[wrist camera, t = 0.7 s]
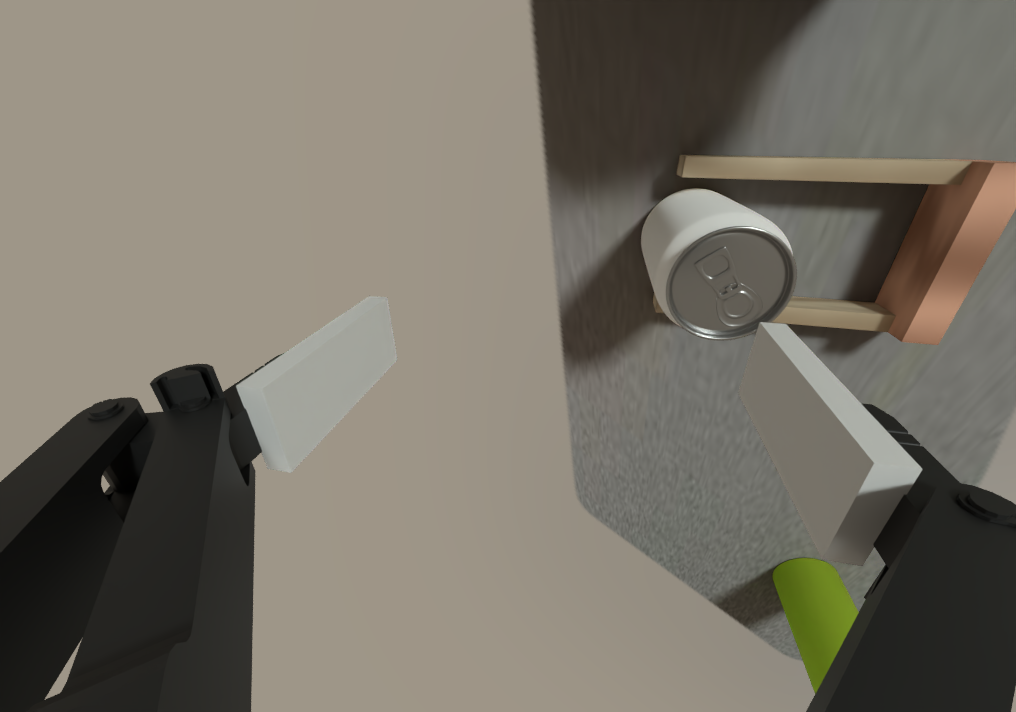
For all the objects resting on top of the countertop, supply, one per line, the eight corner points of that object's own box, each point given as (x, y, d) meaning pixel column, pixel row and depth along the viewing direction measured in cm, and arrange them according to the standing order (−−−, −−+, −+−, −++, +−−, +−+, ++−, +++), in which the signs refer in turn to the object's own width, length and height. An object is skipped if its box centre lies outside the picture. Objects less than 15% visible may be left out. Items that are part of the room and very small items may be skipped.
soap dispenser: (755, 562, 43) (854, 848, 26) (832, 554, 40) (1000, 866, 23) (768, 597, 45) (867, 885, 28) (842, 592, 42) (1004, 905, 25)
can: (666, 293, 32) (694, 368, 22) (623, 223, 30) (631, 269, 20) (752, 246, 29) (831, 306, 19) (710, 166, 27) (772, 184, 17)
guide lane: (680, 154, 27) (690, 157, 24) (979, 160, 24) (1041, 163, 21) (652, 300, 32) (657, 320, 29) (899, 320, 29) (938, 344, 26)
